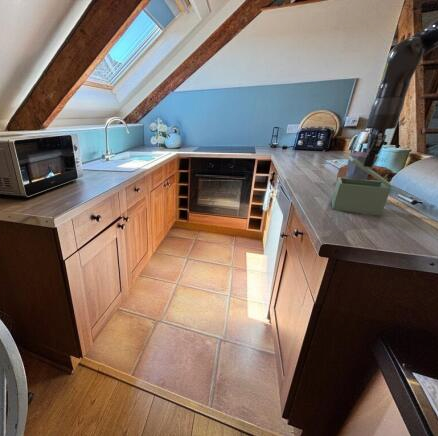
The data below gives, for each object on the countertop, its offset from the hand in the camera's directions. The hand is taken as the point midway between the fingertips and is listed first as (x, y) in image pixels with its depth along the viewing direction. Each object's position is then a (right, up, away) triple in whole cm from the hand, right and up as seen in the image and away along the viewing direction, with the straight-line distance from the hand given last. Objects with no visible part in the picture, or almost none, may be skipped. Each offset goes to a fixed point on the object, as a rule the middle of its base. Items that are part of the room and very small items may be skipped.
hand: (367, 166), depth 86 cm
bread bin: (0, -14, +6) cm, 16 cm away
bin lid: (+1, -2, 0) cm, 2 cm away
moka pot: (+11, -8, +21) cm, 25 cm away
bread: (+28, -2, +35) cm, 45 cm away
